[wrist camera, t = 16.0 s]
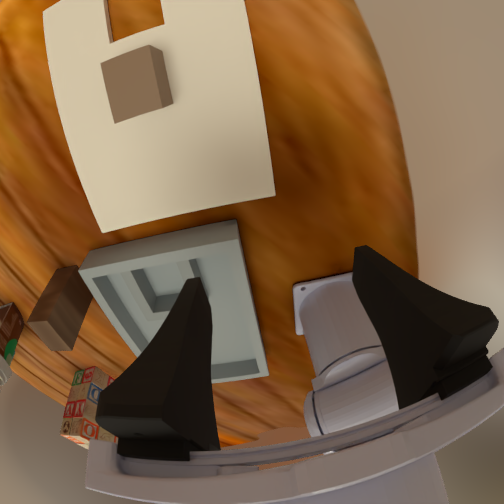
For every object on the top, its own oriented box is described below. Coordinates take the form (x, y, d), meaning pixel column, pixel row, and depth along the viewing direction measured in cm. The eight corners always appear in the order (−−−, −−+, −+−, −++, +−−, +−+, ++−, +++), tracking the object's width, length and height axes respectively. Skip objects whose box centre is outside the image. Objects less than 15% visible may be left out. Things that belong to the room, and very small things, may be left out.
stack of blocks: (180, 416, 45) (179, 472, 35) (157, 419, 46) (154, 472, 36) (94, 364, 33) (78, 437, 23) (74, 370, 34) (58, 435, 24)
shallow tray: (236, 219, 22) (238, 238, 20) (265, 355, 34) (269, 375, 31) (89, 250, 22) (78, 270, 20) (164, 368, 34) (162, 386, 31)
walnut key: (76, 264, 23) (47, 320, 17) (94, 294, 25) (72, 350, 19) (56, 269, 23) (26, 322, 17) (74, 297, 25) (51, 350, 19)
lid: (231, -52, 9) (233, -78, 6) (273, 191, 21) (284, 217, 18) (47, 13, 9) (17, 7, 6) (105, 228, 21) (87, 257, 18)
